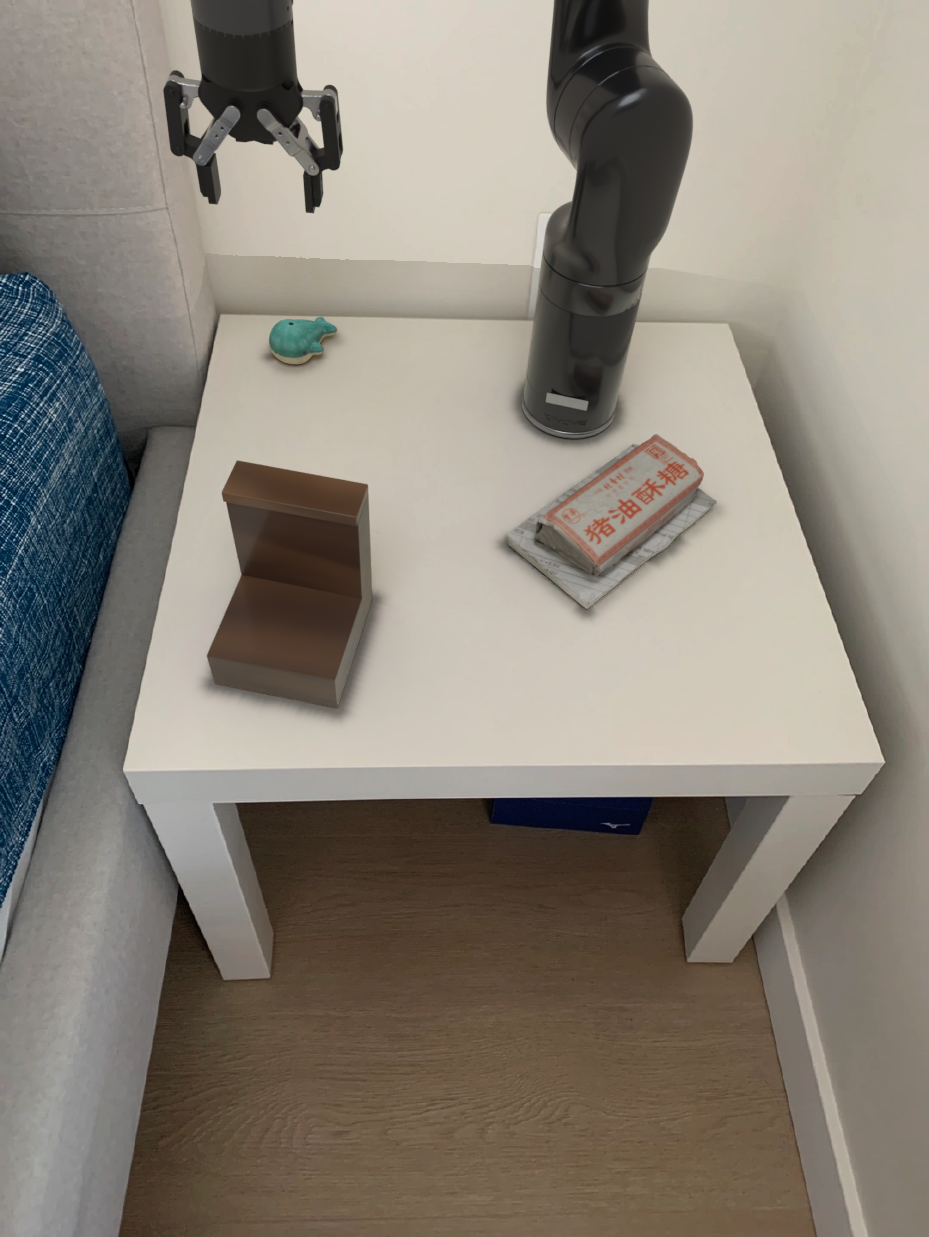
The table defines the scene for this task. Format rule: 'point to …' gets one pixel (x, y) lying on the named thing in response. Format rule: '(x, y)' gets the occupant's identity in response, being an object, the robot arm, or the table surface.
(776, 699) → the table surface
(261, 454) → the table surface
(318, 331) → the whale figurine
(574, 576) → the packaged product
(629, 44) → the robot arm
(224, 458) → the table surface
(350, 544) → the shelf
